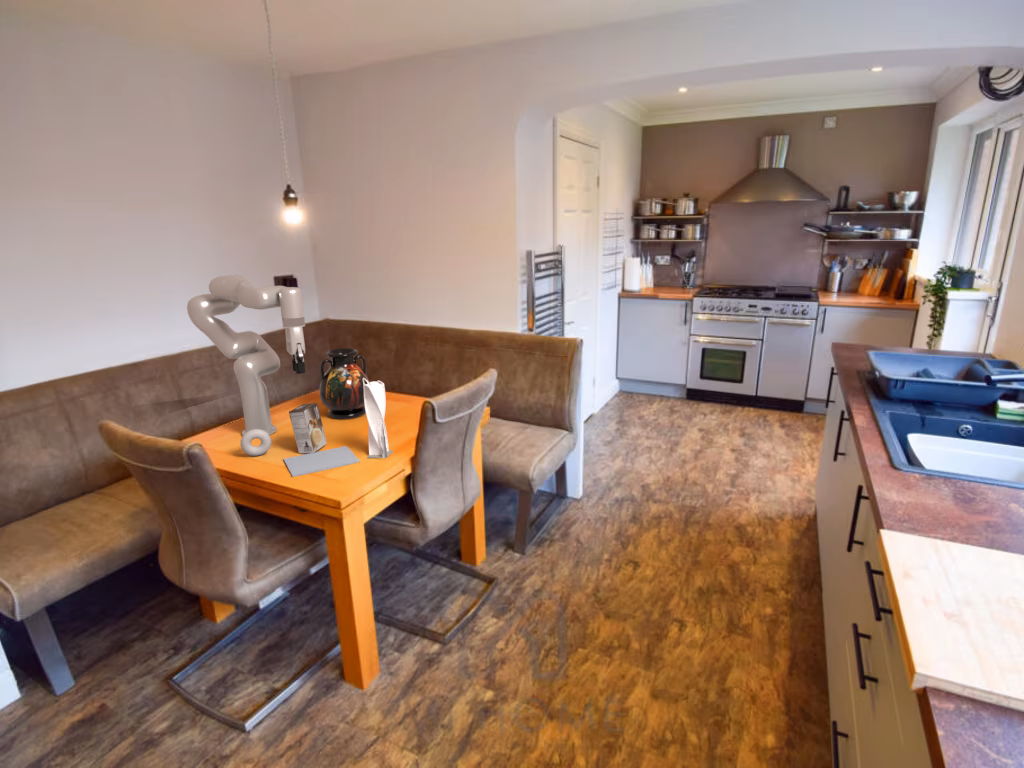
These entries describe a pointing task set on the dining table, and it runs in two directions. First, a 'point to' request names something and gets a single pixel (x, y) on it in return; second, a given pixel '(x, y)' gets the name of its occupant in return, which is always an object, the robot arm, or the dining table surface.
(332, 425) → the dining table surface
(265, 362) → the robot arm
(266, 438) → the donut
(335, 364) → the amphora vase
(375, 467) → the dining table surface
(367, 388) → the skyscraper
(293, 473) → the mat
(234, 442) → the dining table surface
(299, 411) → the coffee box
